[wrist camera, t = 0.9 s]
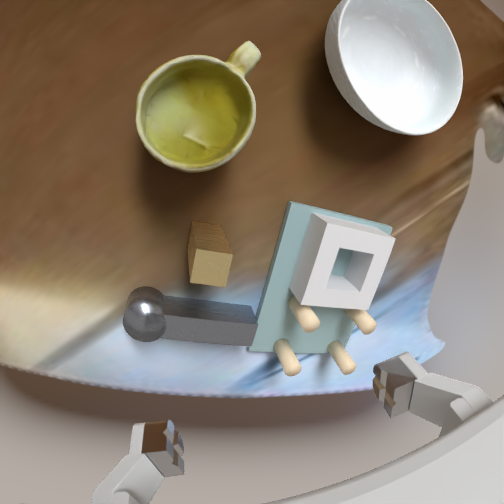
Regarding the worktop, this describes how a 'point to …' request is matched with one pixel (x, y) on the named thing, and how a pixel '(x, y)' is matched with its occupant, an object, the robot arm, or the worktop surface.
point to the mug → (198, 109)
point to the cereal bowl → (395, 63)
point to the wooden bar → (208, 254)
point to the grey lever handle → (187, 319)
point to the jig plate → (280, 292)
